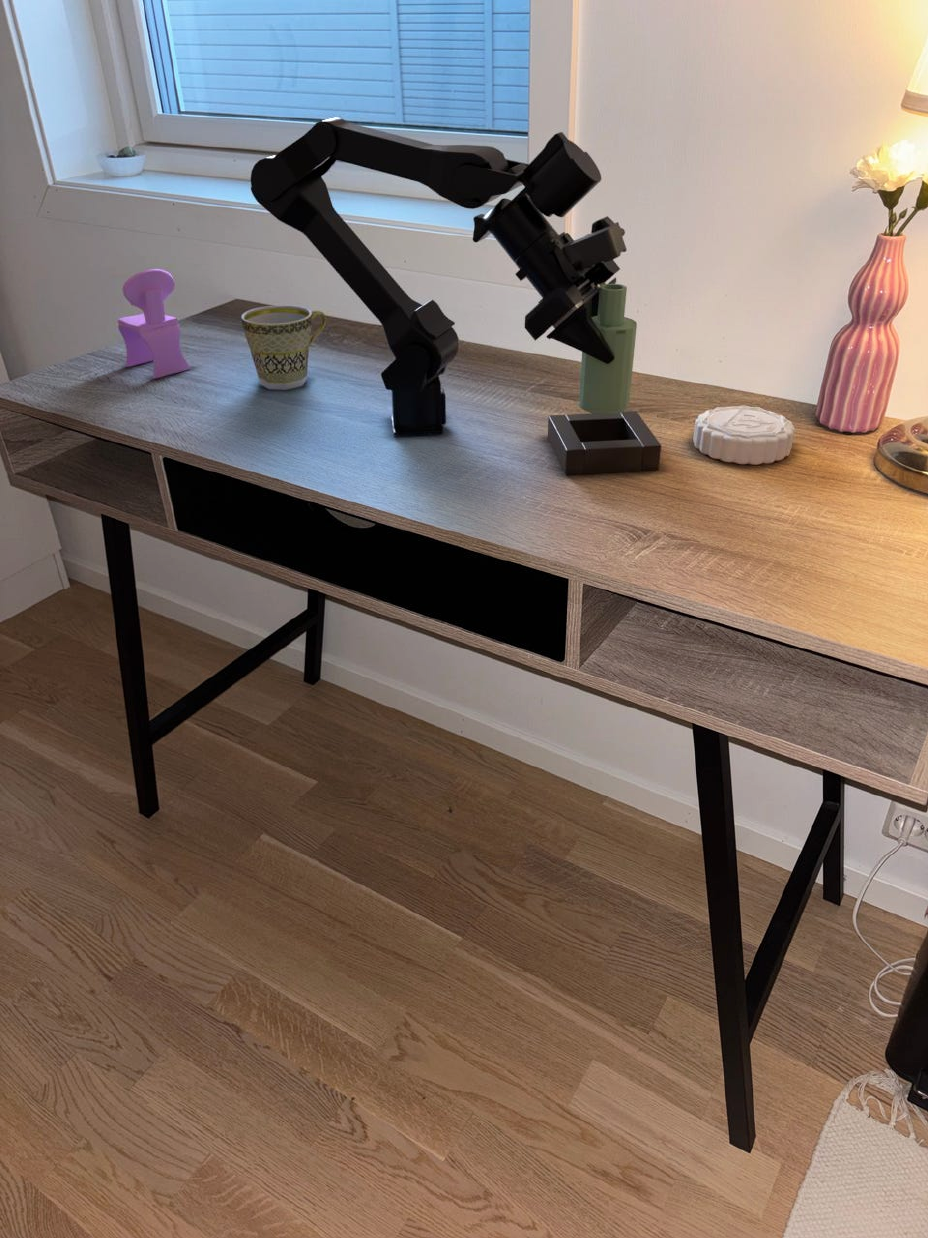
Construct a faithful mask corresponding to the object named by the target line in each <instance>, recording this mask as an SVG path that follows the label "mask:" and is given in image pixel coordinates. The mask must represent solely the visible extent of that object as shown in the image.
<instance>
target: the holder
mask: <svg viewBox="0 0 928 1238" xmlns="http://www.w3.org/2000/svg"><path fill="white" fill-rule="evenodd" d="M547 440H548V442H549V444H550V447H551V448H552V451H553V453H554V454H555V457H556V459H557V461H558V463H559V465H560V467H561V469H562V471H563V473H564V475H565V476H572V475H574V476H575V475H591V474H592V475H593V474H608V473H609V474H610V473H611V474H613V473H628V472H646V471H649V472H650V471H659V470H660V461H661V453H662V444H661V443H660V442H659V440H658V439H657V437H656V436H655V434H654V433H653V432H652V431H651V429H650V428H649V427H648V425H647V423H645V421H644V419H643V417H641V415H640V414H639V413H638V411H637V410H629V411H628V410H626V411H624V412H622V413H618V414H611V415H603V414H594V413H590V412H587V413H571V414H569V413H568V414H551V415H550V414H549V415H548V418H547Z"/></svg>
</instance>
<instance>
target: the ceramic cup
mask: <svg viewBox="0 0 928 1238" xmlns="http://www.w3.org/2000/svg"><path fill="white" fill-rule="evenodd" d="M319 315H320V316H321V317H322V323H321V325H320V327H319V328H318V329H317V330H316V331H315V333H314V334H313V335H312V336H311V334H312V326H313V319H314V318H315V317H317V316H319ZM240 320H241V323H242V324H241V325H242V328H243V331H244V335H245V339H246V341H247V345H248V347H249V349H250V354H251V358H252V361H253V363H254V367H255V369H256V374H257V377H258V381H259V383H260V385H261V386H262V387H263V388H266V389H268V390H281V391H287V390H291V389H296V388H300V387H302V386H304V385H305V383H306V382H307V379H308V369H309V365H308V364H309V353H310V347H311V346H312V345H313V344H314V343H315V340H316V338H317V337H318V335H320V333H322V331H323V330H324V328H325V326H326V324H327V317H326V314H325V312H323V311H321V310H312V311H311V310H310V309H308V308H306V307H303V306H298V305H290V304H289V305H285V304H281V305H280V304H279V305H278V304H277V305H266V306H260V307H256V308H252V309H249V310H247V311H245V312H243V313H242V314H241V316H240Z"/></svg>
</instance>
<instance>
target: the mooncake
mask: <svg viewBox="0 0 928 1238" xmlns="http://www.w3.org/2000/svg"><path fill="white" fill-rule="evenodd" d="M795 431H796V428H795V426H794V425H793V422H792V421H791V420H789V419H787V418H786V417H785V416H784V415H783V414H780V413H776V412H774V411H770V410H766V409H764V408H762V407H758V406H748V405H738V406H716V407H715V408H714V409H707V410H705V412H702V413H700V414H699V415H698V417H697V418H696V419H695V423H694V430H693V437H692V438H693V439H692V441H693V443H694V447H695V448H696V449H697V450H699V452H700V453H701V454H702V455H707V456H709V457H710V458H711V459H714V460H720V461H722V462H724V463H735V464H737V465H738V464H739V465H747V464H748V465H753V466H756V465H757V466H759V465H761V464H772V463H774V462H778V461H782V460H783V459H784V458H785V457H788V456H789V455H790V454H791V450H792V447H793V442H794V437H795Z"/></svg>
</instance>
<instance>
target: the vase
mask: <svg viewBox="0 0 928 1238" xmlns="http://www.w3.org/2000/svg"><path fill="white" fill-rule="evenodd" d="M627 291H628V287H627V286H626V285H624V284H620V283H615V284H608V283H606V284H604V285H601V286H600V289H599V303H598V316H594V317H592V319H593V321H594V323H595V324H596V326H597V327H598V329H599V331H600V332H601V334H602V336H603V337H604V339H605V341H606V342H607V344H608V346H609V347H610V349H611V351H612V353H613V355H614V357H615V359H614V360H613V361H612V362H611V363H609V364H606V363H604V362H602V361H600V360H598V359H596V358H594V357H592V356H590V355H588V354H586V353H583V352H581V363H580V378H579V388H578V389H579V390H578V391H579V392H578V407H579V408H580V409H581V410H582V411H584V412H587V413H594V414H603V415H611V414H618V413H622V412H627V411H628V409H629V406H630V401H631V388H632V380H633V368H634V358H635V349H636V338H637V337H636V336H637V328H638V327H637V326H638V324H637V321H635V320H634V319H632V318H629V317H626V316H625V315H626V314H625V313H626V301H627Z"/></svg>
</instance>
